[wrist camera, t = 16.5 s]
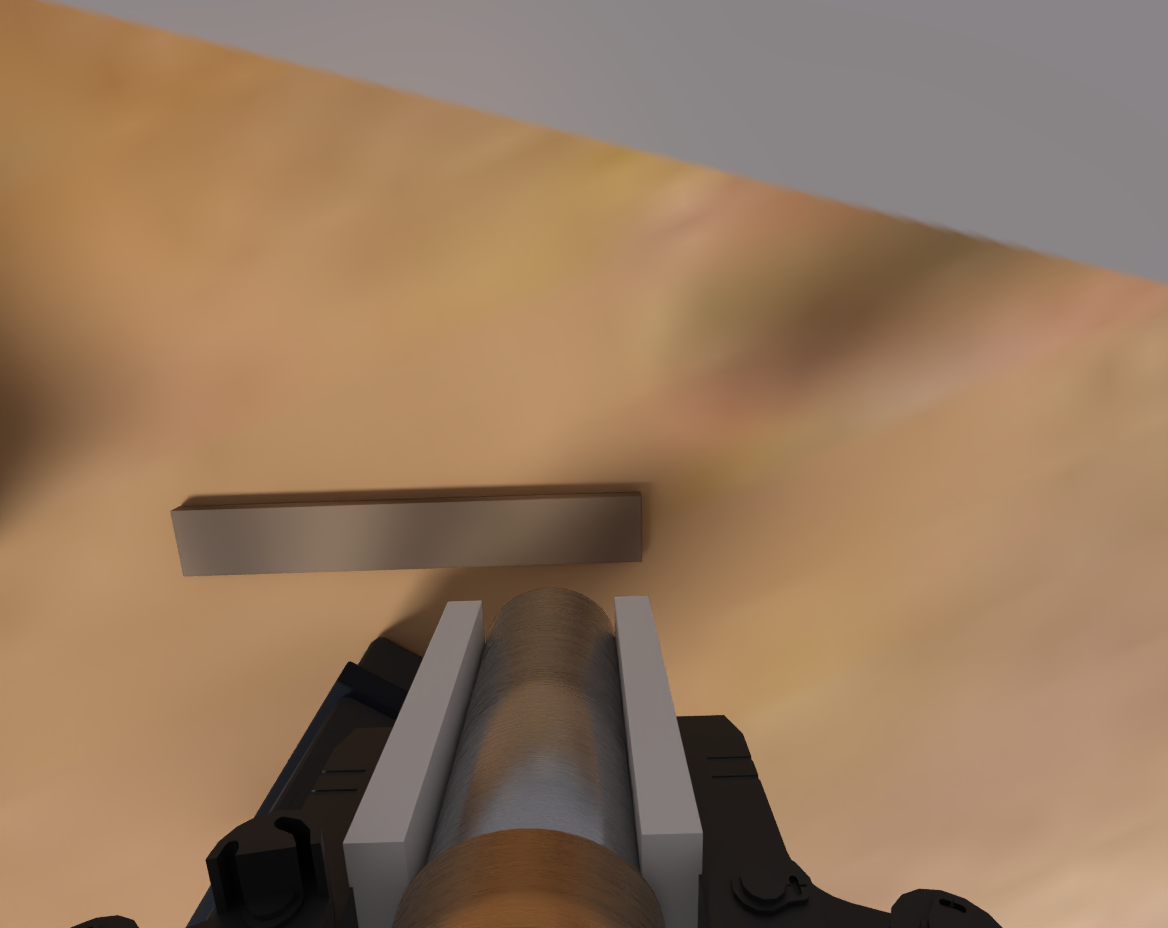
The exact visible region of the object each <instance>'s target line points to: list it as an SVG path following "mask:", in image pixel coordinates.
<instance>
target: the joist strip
mask: <svg viewBox="0 0 1168 928" xmlns="http://www.w3.org/2000/svg"><path fill="white" fill-rule="evenodd" d="M171 516H172V521H173V526H174V531H175V536H176V541H177V546H178V551H179V556H180V561H181V566H182V571H183V576H212V575H242V574H273V573H304V572H335V571H366V570H397V569H427V568H458V567H489V566H520V565H551V564H582V563H612V562H642V501H641V493H640V492H616V493H585V494H553V495H522V496H491V497H459V498H428V499H397V500H365V501H334V502H302V503H271V504H240V505H208V506H179V507H177V508H175V509H173V510H171Z"/></svg>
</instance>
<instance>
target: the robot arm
mask: <svg viewBox="0 0 1168 928" xmlns="http://www.w3.org/2000/svg"><path fill="white" fill-rule="evenodd" d="M614 605H615V641H616V650H617V659H618V669H619V678H620V688H621V697H622V706H623V716H624V725H625V734H626V744H627V753H628V763H629V772H630V781H631V791H632V800H633V810H634V819H635V828H636V838H637V847H638V857H639V866H640V874H641V875H642V877H643V878H644V879H645V880H646V881H647V883H648V884H649V886H650V887H651V889H652V890H653V892H654V893H655V896H656V898H657V900H658V902H659V904H660V906H661V910H662V913H663V917H664V921H665V928H1002V927H1001V926H1000V925H999V924H998V923H997V922H996V921H995V920H994V919H993V918H992V917H991V916H990V915H989V914H988V913H987V912H985V911H983V910H982V909H980V908H979V907H977V906H976V905H974V904H972V903H971V902H969V901H968V900H966V899H964V898H961V897H959V896H956V895H953V894H950V893H947V892H944V891H942V890H929V889H917V890H914V891H911V892H908V893H905V894H902V895H901V896H900V898H899V899H898V900H897V901H896V902H895V904H894V905H893V906H892V908H891V913H887V912H883V911H880V910H876V909H872V908H868V907H865V906H861V905H857V904H853V903H850V902H847V901H844V900H841V899H839V898H836V897H833V896H832V895H830V894H828V893H826V892H824V891H823V890H821V889H819V888H817V887H816V886H815V885H814V884H813V883H812V882H811V879H810V877H809V876H808V875H807V874H806V873H805V872H804V871H803V870H802V869H801V868H800V867H799V866H798V865H797V864H796V863H795V862H794V861H792V860H791V858H790V857H789V855H788V853H787V851H786V848H785V845H784V843H783V840H782V837H781V835H780V832H779V829H778V827H777V824H776V821H775V819H774V816H773V813H772V811H771V808H770V805H769V803H768V800H767V797H766V794H765V792H764V789H763V786H762V784H761V781H760V780H759V779H758V773H757V770H756V768H755V765H754V762H753V761H752V760H751V754H750V752H749V749H748V746H747V744H746V741H745V738H744V736H743V734H742V733H741V732H740V731H739V730H738V729H737V728H736V727H735V726H734V725H733V724H732V723H731V722H730V721H729V720H728V719H727V718H726V717H725V716H724V715H712V716H678V717H676V714H675V710H674V705H673V701H672V697H671V692H670V688H669V683H668V679H667V675H666V670H665V666H664V662H663V657H662V653H661V649H660V644H659V640H658V636H657V631H656V627H655V623H654V618H653V614H652V610H651V605H650V601H649V597H648V596H616V597H614ZM484 648H485V637H484V624H483V610H482V601H449V602H447V605H446V607H445V609H444V612H443V614H442V616H441V618H440V621H439V623H438V625H437V628H436V630H435V632H434V635H433V637H432V639H431V641H430V644H429V646H428V648H427V651H426V653H425V655H424V658H423V660H422V662H421V664H420V667H419V669H418V671H417V674H416V676H415V678H414V681H413V683H412V685H411V688H410V690H409V692H408V694H407V697H406V699H405V701H404V704H403V706H402V708H401V711H400V713H399V715H398V717H397V720H396V722H395V724H394V727H375V728H356V729H355V730H354V731H353V732H352V733H351V734H350V735H349V736H347V737H346V738H345V739H344V740H343V741H342V742H341V743H340V744H339V745H337V746H336V747H335V748H334V750H333V752H332V754H331V756H330V757H329V759H328V761H327V763H326V765H325V767H324V768H323V770H322V775H321V776H319V778H318V779H317V781H316V783H315V785H314V787H313V789H312V793H311V795H309V796H308V798H307V800H306V801H305V803H304V805H303V807H302V809H301V811H300V810H278V811H274V812H270V813H267V814H263V815H259V816H257V817H255V818H253V819H251V820H249V821H247V822H245V823H243V824H241V825H239V826H237V827H236V828H235V829H234V830H232V831H231V832H230V833H229V834H227V835H226V836H225V837H224V838H223V839H221V840H220V841H219V842H218V843H217V844H216V846H215V847H214V849H213V850H212V851H211V853H210V854H209V856H208V857H207V858H206V864H207V869H208V873H209V878H210V882H211V887H212V892H213V896H214V901H215V905H216V910H217V916H215V917H213V918H211V919H208V920H206V921H203V922H201V923H198V924H196V925H193V926H190V927H186V928H392V925H393V921H394V918H395V915H396V911H397V908H398V905H399V903H400V901H401V898H402V896H403V894H404V892H405V890H406V889H407V887H408V886H409V884H410V883H411V881H412V880H413V879H414V877H415V876H416V875H417V874H418V873H419V872H420V871H421V869H422V868H423V867H425V866H426V863H427V859H428V856H429V852H430V848H431V845H432V841H433V837H434V833H435V830H436V826H437V822H438V819H439V815H440V811H441V807H442V804H443V800H444V796H445V793H446V789H447V785H448V782H449V778H450V774H451V770H452V767H453V763H454V759H455V756H456V752H457V748H458V744H459V741H460V737H461V733H462V730H463V726H464V722H465V718H466V715H467V711H468V707H469V704H470V700H471V696H472V692H473V689H474V685H475V681H476V678H477V674H478V670H479V666H480V663H481V659H482V655H483V652H484ZM71 928H139V927H138V926H137V924H136V923H135V921H134V920H132V919H129V918H125V917H122V916H119V915H116V916H108V917H99V918H94V919H92V920H89V921H86V922H84V923H81V924H79V925H76V926H74V927H71Z"/></svg>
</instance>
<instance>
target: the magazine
mask: <svg viewBox="0 0 1168 928" xmlns="http://www.w3.org/2000/svg"><path fill="white" fill-rule="evenodd" d="M422 660H423V658H421V657H419V656H417V655H416V654H414V653H412V652H410V651H408V650H406V649H404V648H402V647H401V646H399V645H397V644H395V643H393V642H391V641H389V640H387V639H385V638H381V637H379V638H377V639H376V640H374V641H373V642H371V644H370V646H369V647H368V649H367V651H366V652H365V654H364V656H363V657H362V659H361V661H360V662H359V664H358V665H357V664H355V663H353V662H348V663H347V664H346V666H345V668H344V669H343V671H342V673H341V674H340V676H339V677H338V679H337V681H336V682H335V684H334V686H333V687H332V689H331V691H330V692H329V694H328V696H327V697H326V699H325V701H324V702H323V704H322V706H321V707H320V709H319V711H318V712H317V714H316V715H315V717H314V719H313V720H312V722H311V724H310V725H309V727H308V729H307V730H306V732H305V734H304V735H303V737H302V739H301V740H300V742H299V744H298V745H297V747H296V749H295V750H294V752H293V754H292V755H291V757H290V759H289V760H288V762H287V764H286V765H285V767H284V769H283V770H282V772H281V774H280V775H279V777H278V779H277V780H276V782H275V784H274V785H273V787H272V789H271V790H270V792H269V794H268V795H267V797H266V799H265V800H264V802H263V804H262V805H261V807H260V809H259V810H258V812H257V814H256V815H255V817H257V816H259V815H263V814H267V813H270V812H274V811H278V810H300V811H301V809H302V807H303V805H304V803H305V801H306V800H307V798H308V796H309V795H311V793H312V789H313V787H314V785H315V783H316V781H317V779H318V778H319V776H321V775H322V770H323V768H324V767H325V765H326V763H327V761H328V759H329V757H330V756H331V754H332V752H333V750H334V748H335V747H336V746H337V745H339V744H340V743H341V742H342V741H343V740H344V739H345V738H346V737H347V736H349V735H350V734H351V733H352V732H353V731H354V730H355V729H356V728H375V727H394V724H395V722H396V720H397V717H398V715H399V713H400V711H401V708H402V706H403V704H404V701H405V699H406V697H407V694H408V692H409V690H410V688H411V685H412V683H413V681H414V678H415V676H416V674H417V671H418V669H419V667H420V664H421V662H422ZM255 817H254V818H255ZM215 916H217V910H216V905H215V901H214V896H213V892H212V887H211V885H210V887H209V889H208V890H207V892H206V894H205V896H204V897H203V899H202V901H201V902H200V904H199V906H198V907H197V909H196V911H195V913H194V914H193V916H192V918H191V919H190V921H189V923H188V925H187V926H186V927H190V926H193V925H196V924H198V923H201V922H203V921H206V920H208V919H211V918H213V917H215Z"/></svg>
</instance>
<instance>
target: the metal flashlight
mask: <svg viewBox="0 0 1168 928" xmlns="http://www.w3.org/2000/svg"><path fill="white" fill-rule="evenodd" d="M392 928H665V921H664V917H663V913H662V910H661V906H660V904H659V902H658V900H657V898H656V896H655V893H654V892H653V890H652V889H651V887H650V886H649V884H648V883H647V881H646V880H645V879H644V878H643V877H642V875H641V874H640V866H639V857H638V847H637V838H636V828H635V819H634V810H633V800H632V791H631V781H630V772H629V763H628V753H627V744H626V734H625V725H624V716H623V706H622V697H621V688H620V678H619V669H618V659H617V650H616V641H615V631H614V628H613V626H612V623H611V621H610V620H609V618H608V616H607V615H606V614H605V612H604V611H603V610H602V609H601V608H600V607H599V606H598V605H597V604H596V603H595V602H593V601H592V600H590V599H589V598H587V597H585V596H584V595H582V594H579V593H577V592H574V591H571V590H567V589H561V588H542V589H536V590H532V591H529V592H526V593H524V594H521V595H519V596H518V597H516V598H514V599H513V600H511V601H510V602H508V603H507V604H506V605H505V606H504V607H503V608H502V609H501V610H500V611H499V613H498V614H497V615H496V617H495V619H494V620H493V622H492V624H491V627H490V629H489V633H488V637H487V641H486V644H485V648H484V652H483V655H482V659H481V663H480V666H479V670H478V674H477V678H476V681H475V685H474V689H473V692H472V696H471V700H470V704H469V707H468V711H467V715H466V718H465V722H464V726H463V730H462V733H461V737H460V741H459V744H458V748H457V752H456V756H455V759H454V763H453V767H452V770H451V774H450V778H449V782H448V785H447V789H446V793H445V796H444V800H443V804H442V807H441V811H440V815H439V819H438V822H437V826H436V830H435V833H434V837H433V841H432V845H431V848H430V852H429V856H428V859H427V863H426V866H425V867H423V868H422V869H421V871H420V872H419V873H418V874H417V875H416V876H415V877H414V879H413V880H412V881H411V883H410V884H409V886H408V887H407V889H406V890H405V892H404V894H403V896H402V898H401V901H400V903H399V905H398V908H397V911H396V915H395V918H394V921H393V925H392Z"/></svg>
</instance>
